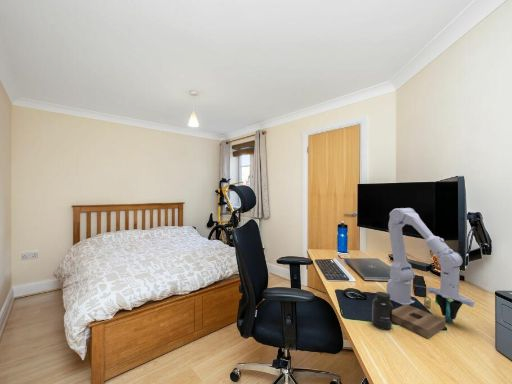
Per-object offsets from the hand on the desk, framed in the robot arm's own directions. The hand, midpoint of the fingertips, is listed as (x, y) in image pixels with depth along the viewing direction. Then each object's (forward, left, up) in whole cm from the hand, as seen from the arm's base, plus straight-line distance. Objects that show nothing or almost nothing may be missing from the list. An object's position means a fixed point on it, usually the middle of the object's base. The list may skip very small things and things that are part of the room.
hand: (448, 316), depth 93 cm
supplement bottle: (-12, -26, -2) cm, 29 cm away
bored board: (-6, -13, -2) cm, 14 cm away
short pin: (-10, +6, -2) cm, 12 cm away
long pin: (0, 0, -2) cm, 2 cm away
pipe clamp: (-5, +13, -2) cm, 14 cm away
